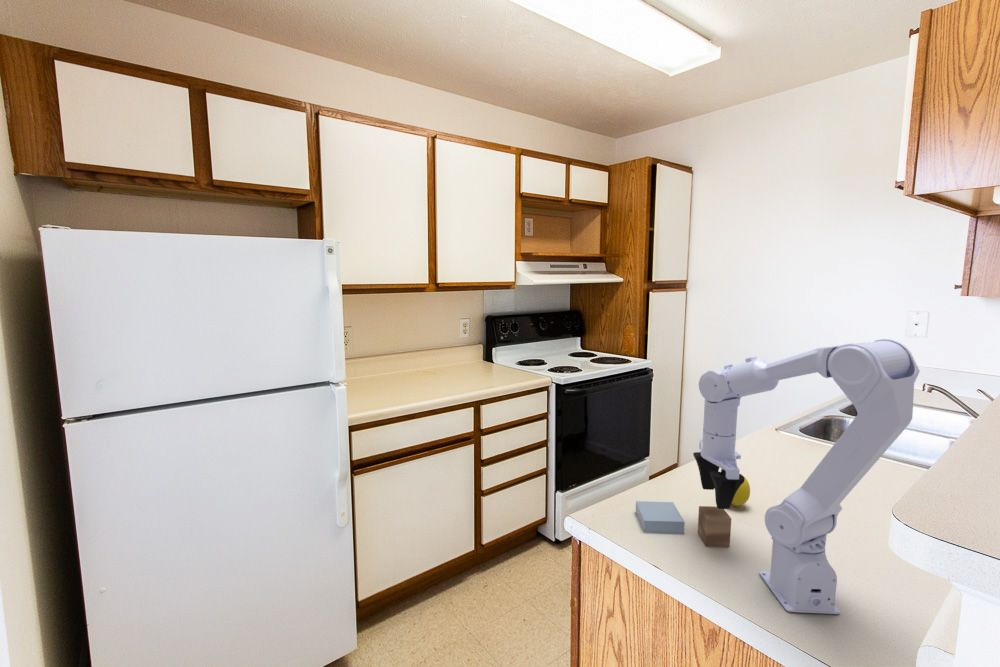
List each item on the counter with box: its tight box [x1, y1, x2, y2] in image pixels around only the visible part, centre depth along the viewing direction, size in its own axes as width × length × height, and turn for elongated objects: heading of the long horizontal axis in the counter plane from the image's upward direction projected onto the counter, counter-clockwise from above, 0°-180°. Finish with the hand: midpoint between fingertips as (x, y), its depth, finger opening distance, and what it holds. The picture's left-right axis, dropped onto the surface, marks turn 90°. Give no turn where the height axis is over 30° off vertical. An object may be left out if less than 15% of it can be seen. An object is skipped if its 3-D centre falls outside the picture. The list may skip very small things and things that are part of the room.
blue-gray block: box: [635, 500, 686, 535], centre depth 98 cm, size 8×8×3 cm
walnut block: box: [697, 505, 732, 548], centre depth 91 cm, size 4×4×6 cm
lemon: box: [731, 474, 751, 507], centre depth 104 cm, size 6×6×8 cm
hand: (715, 498), depth 90 cm, fingers open, 7 cm apart
